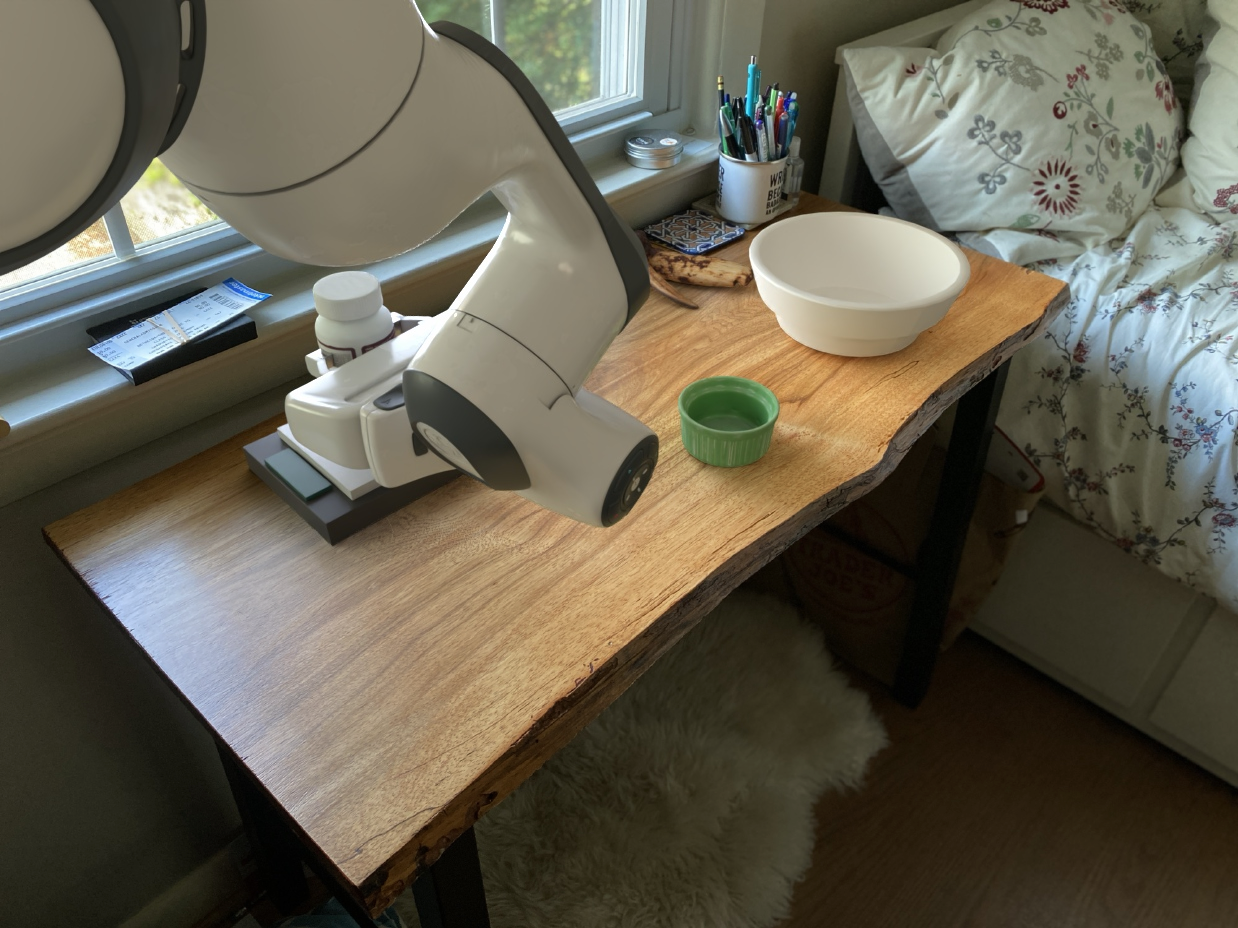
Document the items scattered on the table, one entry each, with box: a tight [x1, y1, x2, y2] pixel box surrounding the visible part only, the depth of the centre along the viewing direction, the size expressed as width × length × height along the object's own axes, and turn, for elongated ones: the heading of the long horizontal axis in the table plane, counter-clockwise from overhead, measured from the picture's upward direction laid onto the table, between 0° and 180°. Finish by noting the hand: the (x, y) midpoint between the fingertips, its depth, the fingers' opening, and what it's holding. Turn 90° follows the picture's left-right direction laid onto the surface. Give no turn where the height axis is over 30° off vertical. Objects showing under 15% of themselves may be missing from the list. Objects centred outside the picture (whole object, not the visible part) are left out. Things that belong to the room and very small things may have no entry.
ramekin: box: [677, 375, 781, 468], centre depth 84 cm, size 9×9×4 cm
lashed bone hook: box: [634, 229, 755, 310], centre depth 108 cm, size 9×5×18 cm
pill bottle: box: [312, 270, 396, 368], centre depth 76 cm, size 6×6×11 cm
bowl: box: [748, 211, 971, 358], centre depth 99 cm, size 22×22×8 cm
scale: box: [242, 423, 466, 547], centre depth 82 cm, size 16×14×3 cm
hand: (350, 341), depth 76 cm, fingers closed on pill bottle, 6 cm apart
